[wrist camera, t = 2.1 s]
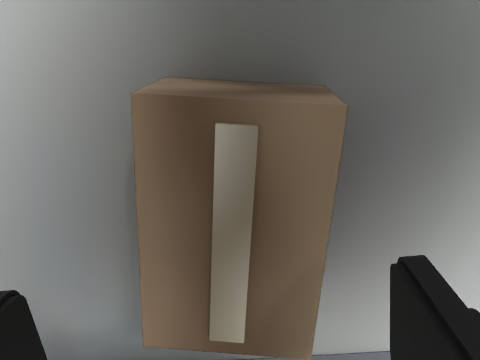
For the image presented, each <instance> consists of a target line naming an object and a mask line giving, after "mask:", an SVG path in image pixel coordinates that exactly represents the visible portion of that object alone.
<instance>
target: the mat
mask: <svg viewBox="0 0 480 360" xmlns="http://www.w3.org/2000/svg"><path fill="white" fill-rule="evenodd" d="M244 360H306V359H293V358H281V357H280V358H262V359H244ZM311 360H391V356H390V352H372V353H353V354H335V355H317V356H311Z"/></svg>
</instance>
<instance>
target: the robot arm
mask: <svg viewBox="0 0 480 360" xmlns="http://www.w3.org/2000/svg"><path fill="white" fill-rule="evenodd" d="M390 356H391V360H480V313H479V312H478V311H477V310H475V309H473V308H467V307H466V305H465V304H464V303H463V302H462V300H461V299H460V298H459V297H458V295H457V294H456V293H455V292H454V291H453V289H452V288H451V287H450V286H449V284H448V283H447V282H446V281H445V279H444V278H443V277H442V276H441V275H440V273H439V272H438V271H437V270H436V268H435V267H434V266H433V265H432V263H431V262H430V261H429V260H428V258H427V257H426V256H424V255H418V256H406V257H399V258H398V262H397V263H395V264H391V267H390ZM0 360H47V357H46V354H45V352H44V349H43V346H42V343H41V340H40V337H39V334H38V332H37V329H36V326H35V323H34V320H33V317H32V315H31V312H30V309H29V306H28V303H27V300H26V298H25V297H24V296H22V295H20V293H18V292H17V291H15V290H9V291H0Z"/></svg>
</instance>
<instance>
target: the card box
mask: <svg viewBox="0 0 480 360" xmlns="http://www.w3.org/2000/svg"><path fill="white" fill-rule="evenodd" d="M131 105H132V125H133V146H134V167H135V187H136V208H137V229H138V249H139V270H140V291H141V311H142V332H143V347H156V348H168V349H181V350H193V351H206V352H218V353H231V354H243V355H256V356H268V357H281V358H293V359H306V360H311V354H312V347H313V341H314V334H315V327H316V320H317V313H318V307H319V300H320V293H321V286H322V279H323V273H324V266H325V259H326V252H327V246H328V239H329V232H330V225H331V218H332V212H333V205H334V198H335V191H336V185H337V178H338V171H339V164H340V157H341V151H342V144H343V137H344V130H345V123H346V117H347V110H348V105H347V104H346V103H344V102H343V101H342V100H341V99H340V98H338V97H337V96H336V95H335V94H334V93H332V92H331V91H330V90H329V89H328V88H326V87H325V86H315V85H298V84H280V83H263V82H245V81H227V80H210V79H192V78H175V77H165V78H163V79H161V80H158V81H156V82H154V83H152V84H150V85H147V86H145V87H143V88H141V89H138V90H136V91H134V92H132V93H131Z"/></svg>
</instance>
